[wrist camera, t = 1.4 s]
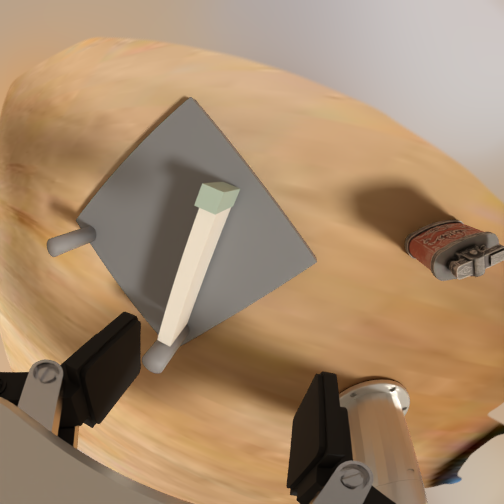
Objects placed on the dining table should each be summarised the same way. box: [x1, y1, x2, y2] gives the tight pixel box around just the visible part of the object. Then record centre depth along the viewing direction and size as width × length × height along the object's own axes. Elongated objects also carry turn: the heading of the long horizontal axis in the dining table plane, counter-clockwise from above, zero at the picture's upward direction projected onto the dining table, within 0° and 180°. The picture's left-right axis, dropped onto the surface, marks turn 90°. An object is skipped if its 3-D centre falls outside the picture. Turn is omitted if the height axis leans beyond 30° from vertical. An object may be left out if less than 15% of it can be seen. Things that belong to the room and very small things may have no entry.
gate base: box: [47, 97, 317, 373], centre depth 26 cm, size 21×21×9 cm
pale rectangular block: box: [157, 182, 240, 346], centre depth 25 cm, size 16×2×6 cm, turn 157°
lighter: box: [405, 220, 504, 281], centre depth 21 cm, size 8×3×10 cm, turn 109°
